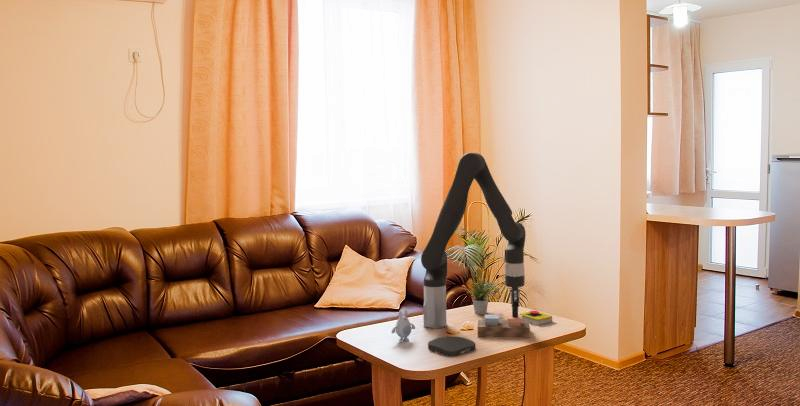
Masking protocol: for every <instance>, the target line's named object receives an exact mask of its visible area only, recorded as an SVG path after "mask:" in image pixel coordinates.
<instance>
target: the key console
mask: <svg viewBox="0 0 800 406" xmlns="http://www.w3.org/2000/svg"><path fill="white" fill-rule="evenodd" d="M530 327H531V326H530V324H529V321H522V323H521V326H509V323H508V319H503V320H502V319H499V323H498V325H486V322H485V319H478V321H477V338H506V339H507V338H510V339H511V338H512V339H531V328H530Z"/></svg>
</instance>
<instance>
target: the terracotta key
mask: <svg viewBox="0 0 800 406" xmlns="http://www.w3.org/2000/svg"><path fill="white" fill-rule="evenodd" d="M507 320H508V323H509V326H521V323H522V315H520V314H518V317H512V314H507Z"/></svg>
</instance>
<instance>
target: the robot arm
mask: <svg viewBox="0 0 800 406" xmlns="http://www.w3.org/2000/svg"><path fill="white" fill-rule="evenodd" d="M453 178H454V179H453V181H452V184H451V186H450V188H449V190H448V193H447V195H446V197H445V200H444V202H443V204H442V207H441V209H440V211H439V215H438V216H437V220H436V222H435V225H434V229H433V231H432V233H431V237H430V238H429V240H428V242H427V244H426V246H425V248H424V250H423V251H422V254H421V256H420V257H421V258H420V263H421V265H422V267H423V268H424V269H425V274H424V277H423V306H422V307H423V311H422V312H423V327H424V328H430V329H439V328H440V329H441V328H444V326H445V325H446V326H447V285H446V284H447V278H448V255H447V251H446V248H447V245H448V244H449V241H450V239H451V238H452V236H454V234H455V233H456V230H458V227H459V226H460V224H461V222H462V220H463V217H464V215H465V212H466V209H467V204H468V197H469V191H470V189H471V186H472V183H473V182H474V181H476V183H477V184H478V185H479V188H480V190H481V191H482V194H483V197H484V199H485V202H486V204H487V206H488V208H489V210H490V212H491V213H492V215H493V217H494V219H495V220H496V222H497V225H498V228H499V230H500V232H501V234H502V235H501V236H503V238H504V239H505V240H506V241H508V242H507V247H506V249H505V254H504V255H505V265H504V284H505V286H506V287H509V288H511V289H509V296H510V303H511V308H512V309H511V315H512V317H518V315H519V307H520V305H519V304H520V296H521V289H519V288H521V287H524V286H525V285H526V284H525V282H526V281H525V275H526V274H525V261H524V260H525V259H524V257H525V253H524V250H525V249H524V248H525V245H526V244H525V243H526V228H525V227H524V224H522V223H521V222H519V221H517V222H516V221H515V219H514V218H513V216H512V215H513V211H512V208H511V207H510V205H509V204H508V201H506V199H505V197H504V196H503V194H502V193H501V191H500V189H499V187H498V186H497V184H496V182H495V180H494V177H493V176H492V174H491V172H490V168H489V167H488V164H487V162H486V159H485V157H484V156H482V154H480V153H477V152H466V153H464V154H463V155H462V156H461V158H460V159H459V161H458V165H457V168H456V172H455V175H454V177H453ZM446 326H445V327H446Z"/></svg>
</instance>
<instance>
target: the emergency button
mask: <svg viewBox="0 0 800 406" xmlns="http://www.w3.org/2000/svg"><path fill="white" fill-rule="evenodd" d="M519 315H522V321H529V325H533V326H536V327H539V328H544V327H549V326H554V325H556V324H557V322H554V320H553V315H551V314H547V313H544V312H540V311H538V310H530V311H526V312H521V313H519Z"/></svg>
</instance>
